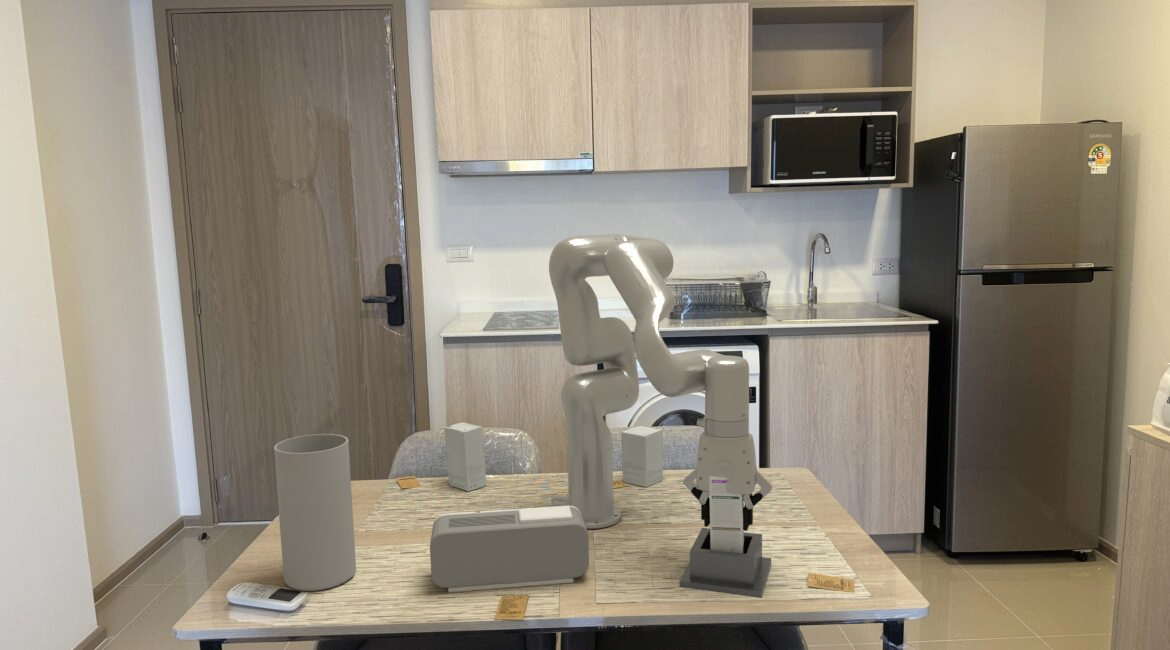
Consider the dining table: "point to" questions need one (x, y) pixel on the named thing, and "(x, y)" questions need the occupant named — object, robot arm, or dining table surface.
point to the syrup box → (725, 517)
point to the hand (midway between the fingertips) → (726, 525)
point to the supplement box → (642, 456)
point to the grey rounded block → (508, 548)
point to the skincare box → (465, 456)
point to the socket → (727, 567)
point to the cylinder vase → (315, 511)
